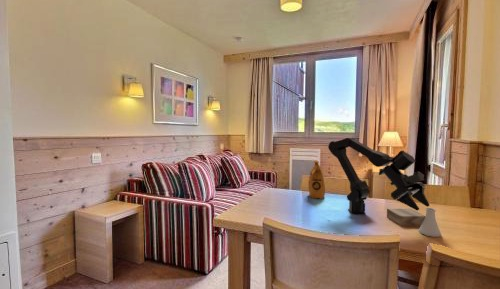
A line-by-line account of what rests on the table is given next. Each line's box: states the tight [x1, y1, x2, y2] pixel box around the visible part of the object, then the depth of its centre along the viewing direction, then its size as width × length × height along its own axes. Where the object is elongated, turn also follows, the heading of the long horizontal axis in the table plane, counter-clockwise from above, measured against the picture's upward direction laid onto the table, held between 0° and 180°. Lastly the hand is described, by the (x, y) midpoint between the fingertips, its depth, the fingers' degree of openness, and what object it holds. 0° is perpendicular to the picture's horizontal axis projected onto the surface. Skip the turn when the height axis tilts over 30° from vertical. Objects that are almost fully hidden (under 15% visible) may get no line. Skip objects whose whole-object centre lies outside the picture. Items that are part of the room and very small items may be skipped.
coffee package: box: [308, 159, 326, 199], centre depth 161 cm, size 10×12×22 cm
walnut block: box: [386, 208, 426, 226], centre depth 118 cm, size 11×11×4 cm
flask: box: [418, 207, 442, 238], centre depth 103 cm, size 7×7×10 cm
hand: (423, 208), depth 105 cm, fingers open, 9 cm apart
